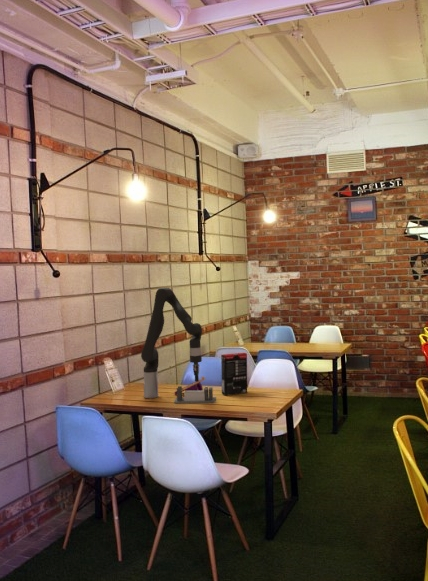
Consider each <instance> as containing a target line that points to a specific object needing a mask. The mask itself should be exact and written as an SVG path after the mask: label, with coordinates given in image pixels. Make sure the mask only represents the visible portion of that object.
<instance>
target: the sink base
mask: <svg viewBox="0 0 428 581" xmlns="http://www.w3.org/2000/svg"><path fill="white" fill-rule="evenodd" d="M182 388H183V387H182V385H181V386H177V387H176V391H177V395H176V398H175V399H174V400H173V404H174V403H179V404H180V403H183V404H215V402H216V399H217V397H216V396H214V394H213V392H214V390H213V387H209V386H204V387H203V390H201V391H184V393H183V392H182V391H181V389H182ZM183 394H184V395H183ZM183 396H184V397H183Z"/></svg>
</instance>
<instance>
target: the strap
mask: <svg viewBox="0 0 428 581" xmlns="http://www.w3.org/2000/svg"><path fill="white" fill-rule="evenodd" d="M205 380H206V378H205V376H202V377H201V378H200V379H199V381H197V382H196V381H194V382H195V383H194V382H192V383H193V384H192V383H190V384H191V385H190V384H188V385H189V386H188V385H186V386H187V387H186V386H184V387H185V388H184V387H182V388H183V389H181V391H183V390H185V389H187V388H189V387H191V386H193V385H195V384H197V383H199V382H200V383H201V382H203V381H205ZM183 392H184V391H183Z"/></svg>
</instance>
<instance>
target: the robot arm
mask: <svg viewBox="0 0 428 581" xmlns="http://www.w3.org/2000/svg"><path fill="white" fill-rule="evenodd" d="M166 302H167V303H168V304H169V305H170V306H171V307H172V309H173V312H174V313H175V316H176V317H177V319H178V320H179V322H181V324H182V326H183V327H184V329H185V332H187V334H189V335H191V338H190V339H189V361H190V363H193V365H192V368H193V376H194V382H197V381H199V380H200V379H199V375H200V364H199V363H200V362H202V361H203V360H202V357H203V356H202V348H201V346H202V344H201V338H202V333H203V328H202V325H201V324H200V323H198V322H195V323H193V321H192V319H193V318H192V316H191V315H190V314H189V312H188V311H186V309H185V308H184V307H183V305H182V304H181V302H180V301H179V300H178V297H177V296H176V294H175V293H174V292H173V290H172V289H171V288H170V287H160V288H158V289H157V290H156V292H155V296H154V304H153V309H152V313H151V317H150V321H149V326H148V330H147V334H146V337H145V342H144V345H143V347H142V350H141V354H140V356H141V357H140V358H141V359H142V361H143V362H144V363H145V365H144V367H143V398H144V397H145V398H146V399H155V398H159V381H158V380H159V379H158V377H159V376H158V375H159V374H158V368H159V352H158V350H157V348H156V347H155V346H156V344H157V341H158V339H159V337H161V334H162V332H163V329H164V325H165V316H164V308H165V304H166ZM145 398H144V399H145Z"/></svg>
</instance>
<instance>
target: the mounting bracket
mask: <svg viewBox="0 0 428 581" xmlns="http://www.w3.org/2000/svg"><path fill="white" fill-rule="evenodd" d="M195 382H196V381H194V382H192V383H190V384H188V385H186V386H184V387H182V389H183V388H185V387H187V386H189V385H191V384H193V383H195ZM201 390H204V387H203V386H202V383H201V382H199V383H197V384H195V385H193V386H191V387H189V388H187V389H185V390H183V391H182V393H183V392H185V391H201ZM174 394H175V396H177V390H175V391H174Z"/></svg>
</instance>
